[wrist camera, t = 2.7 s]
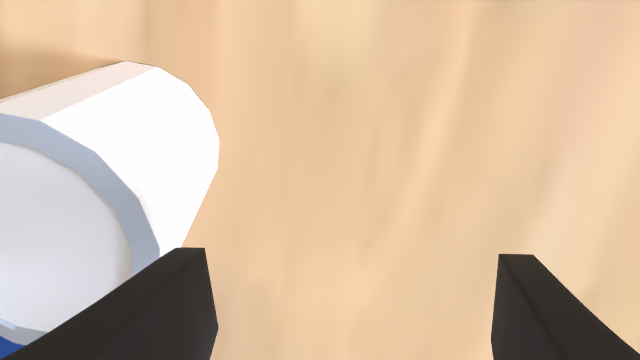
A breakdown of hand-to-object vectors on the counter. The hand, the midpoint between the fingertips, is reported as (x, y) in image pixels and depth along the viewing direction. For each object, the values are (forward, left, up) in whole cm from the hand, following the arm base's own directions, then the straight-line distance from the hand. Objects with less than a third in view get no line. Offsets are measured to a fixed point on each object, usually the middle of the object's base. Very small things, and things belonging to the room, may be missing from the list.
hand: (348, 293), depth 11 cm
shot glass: (+8, 0, -9) cm, 12 cm away
